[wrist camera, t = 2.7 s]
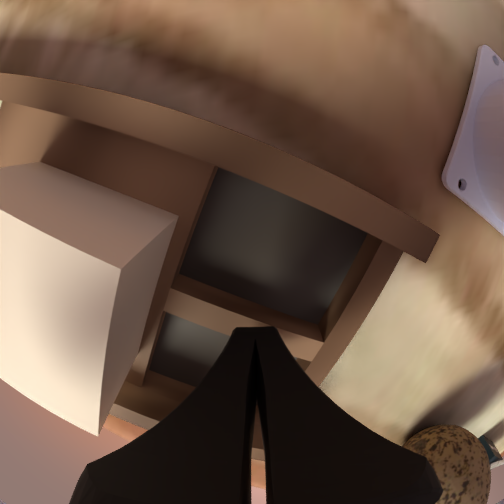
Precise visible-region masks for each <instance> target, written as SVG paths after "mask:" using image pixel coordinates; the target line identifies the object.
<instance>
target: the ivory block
mask: <svg viewBox="0 0 504 504" xmlns="http://www.w3.org/2000/svg"><path fill="white" fill-rule="evenodd" d="M178 217H179V216H178V215H175V214H173V213H170V212H167V211H165V210H162V209H160V208H157V207H155V206H152V205H150V204H147V203H145V202H142V201H140V200H137V199H134V198H132V197H129V196H127V195H124V194H122V193H119V192H117V191H114V190H111V189H109V188H106V187H104V186H101V185H99V184H96V183H93V182H91V181H88V180H86V179H83V178H81V177H78V176H75V175H73V174H70V173H68V172H65V171H63V170H60V169H57V168H55V167H52V166H50V165H47V164H44V163H42V162H34V163H27V164H20V165H14V166H8V167H2V168H0V378H1V379H2V380H4V381H5V382H6V383H8V384H9V385H11V386H12V387H13V388H15V389H16V390H17V391H19V392H20V393H22V394H23V395H25V396H26V397H28V398H29V399H31V400H32V401H34V402H36V403H37V404H39V405H40V406H42V407H44V408H45V409H47V410H49V411H50V412H52V413H54V414H55V415H57V416H59V417H61V418H62V419H64V420H66V421H68V422H70V423H72V424H74V425H76V426H77V427H79V428H81V429H83V430H85V431H87V432H89V433H91V434H94V435H96V436H99V434H100V431H101V429H102V427H103V425H104V423H105V420H106V418H107V416H108V414H109V412H110V410H111V408H112V405H113V403H114V401H115V399H116V397H117V395H118V393H119V391H120V389H121V387H122V385H123V383H124V380H125V378H126V376H127V374H128V372H129V370H130V368H131V366H132V364H133V362H134V360H135V358H136V356H137V354H138V352H139V347H140V343H141V339H142V336H143V332H144V328H145V324H146V320H147V317H148V313H149V309H150V306H151V302H152V299H153V295H154V292H155V288H156V285H157V282H158V278H159V275H160V272H161V269H162V265H163V262H164V259H165V256H166V253H167V250H168V247H169V243H170V240H171V237H172V234H173V232H174V229H175V226H176V223H177V220H178Z"/></svg>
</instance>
